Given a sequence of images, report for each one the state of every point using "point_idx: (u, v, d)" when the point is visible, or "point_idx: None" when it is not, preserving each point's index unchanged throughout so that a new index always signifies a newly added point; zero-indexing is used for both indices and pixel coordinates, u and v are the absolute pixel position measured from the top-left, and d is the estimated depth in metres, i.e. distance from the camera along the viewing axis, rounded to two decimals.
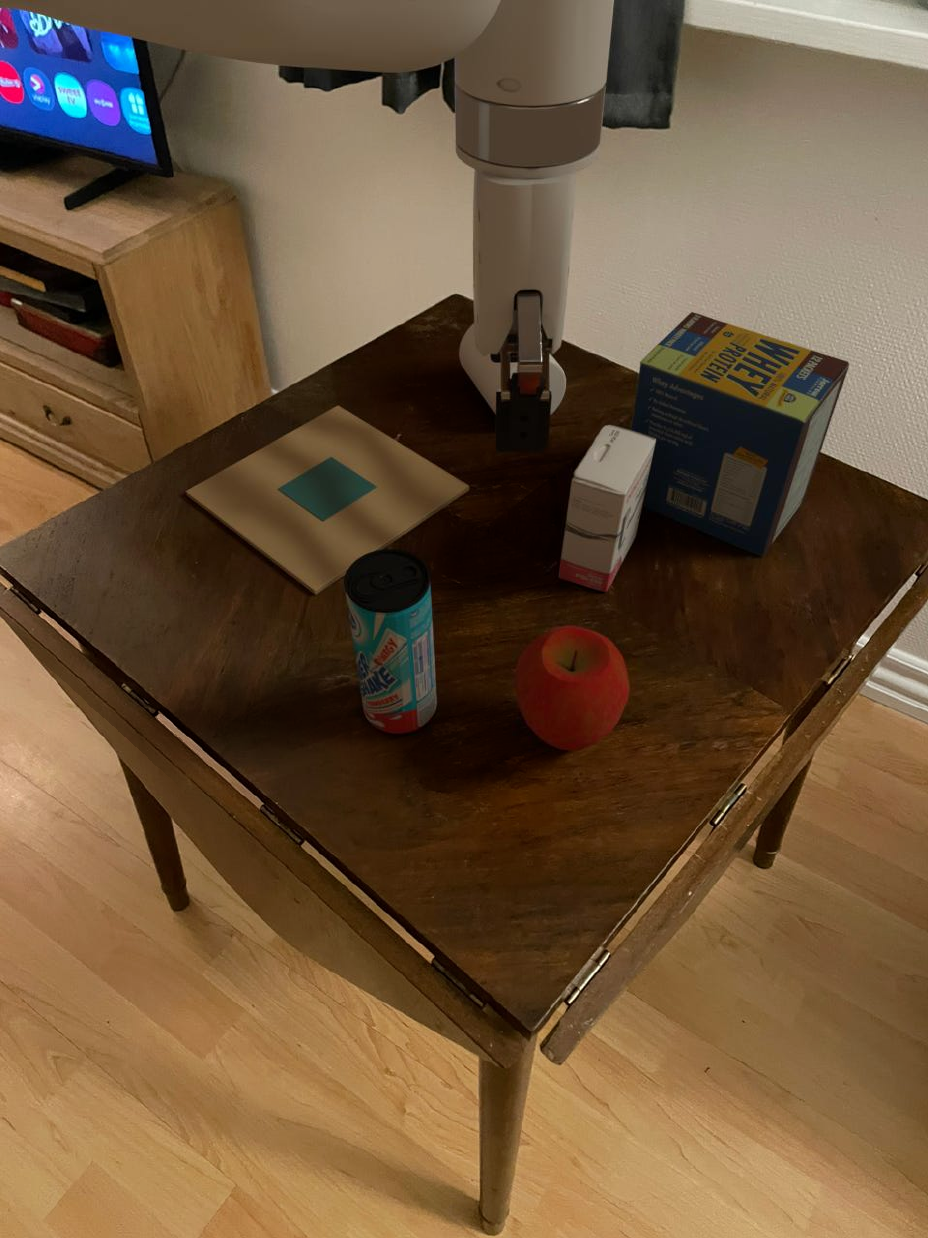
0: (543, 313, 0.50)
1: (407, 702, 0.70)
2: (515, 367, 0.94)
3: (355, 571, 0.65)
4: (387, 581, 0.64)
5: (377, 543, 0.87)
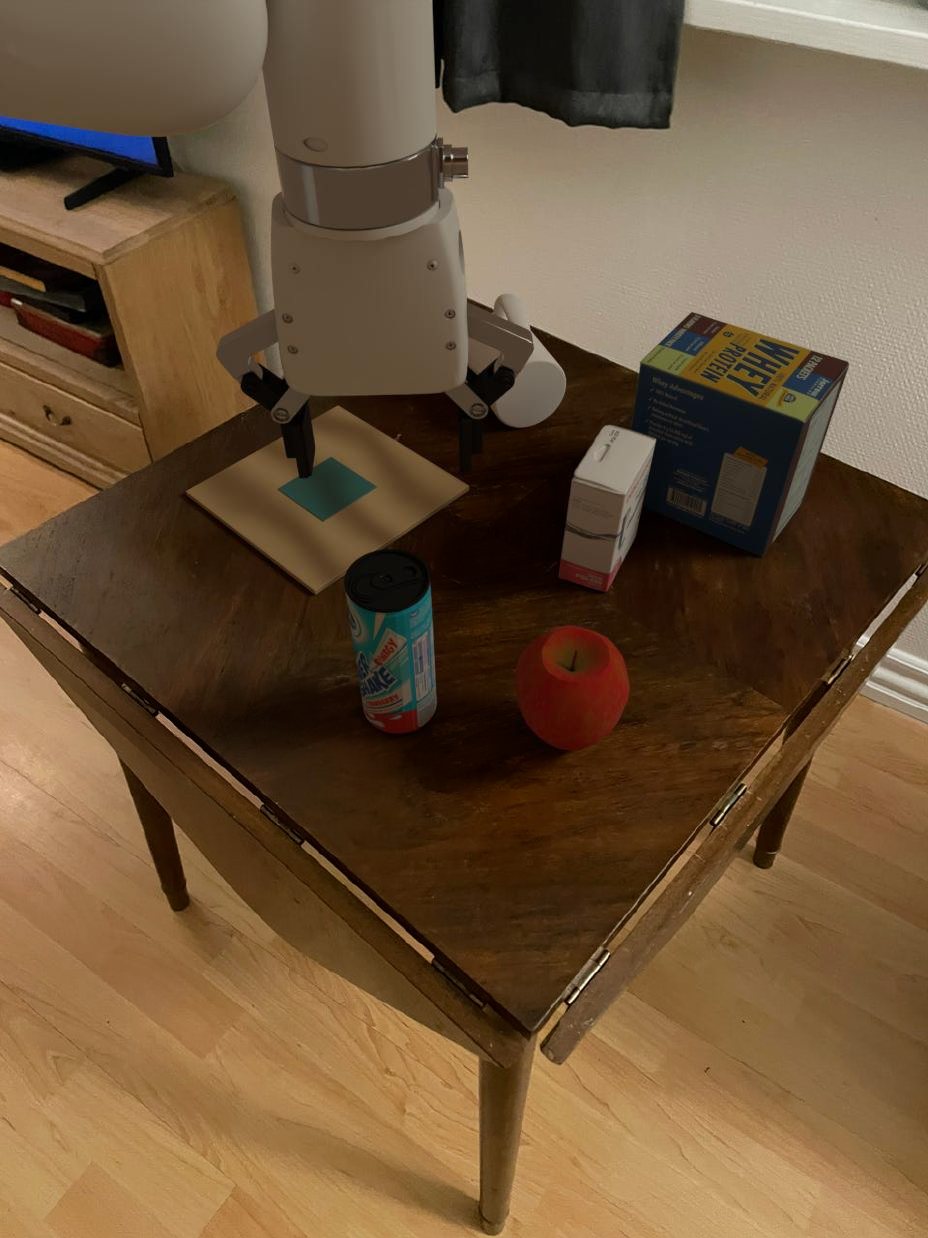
0: (278, 337, 0.50)
1: (407, 702, 0.70)
2: None
3: (355, 571, 0.65)
4: (387, 581, 0.64)
5: (377, 543, 0.87)
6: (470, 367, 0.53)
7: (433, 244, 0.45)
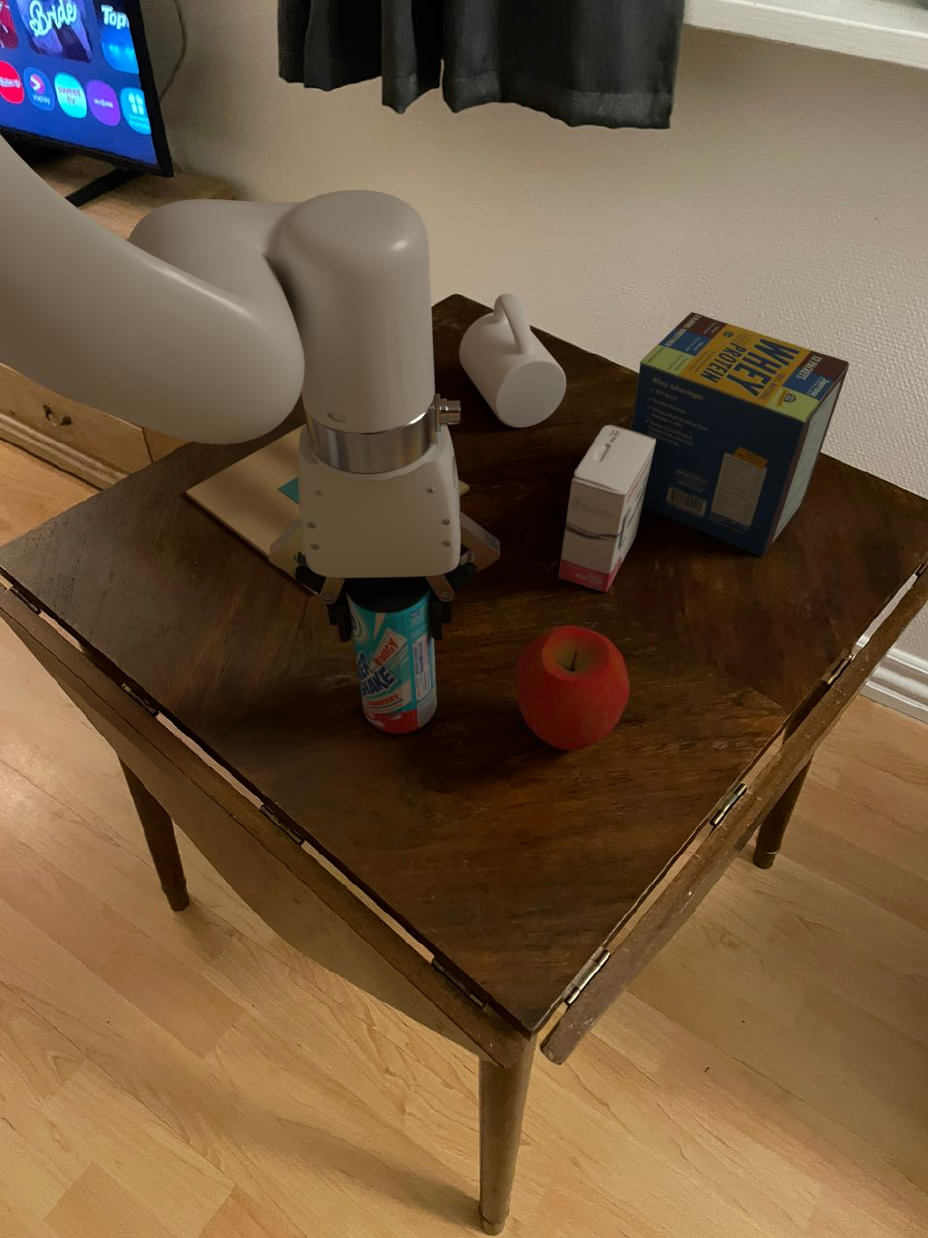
0: None
1: (407, 702, 0.70)
2: (515, 367, 0.94)
3: None
4: (387, 581, 0.64)
5: None
6: None
7: (431, 475, 0.55)
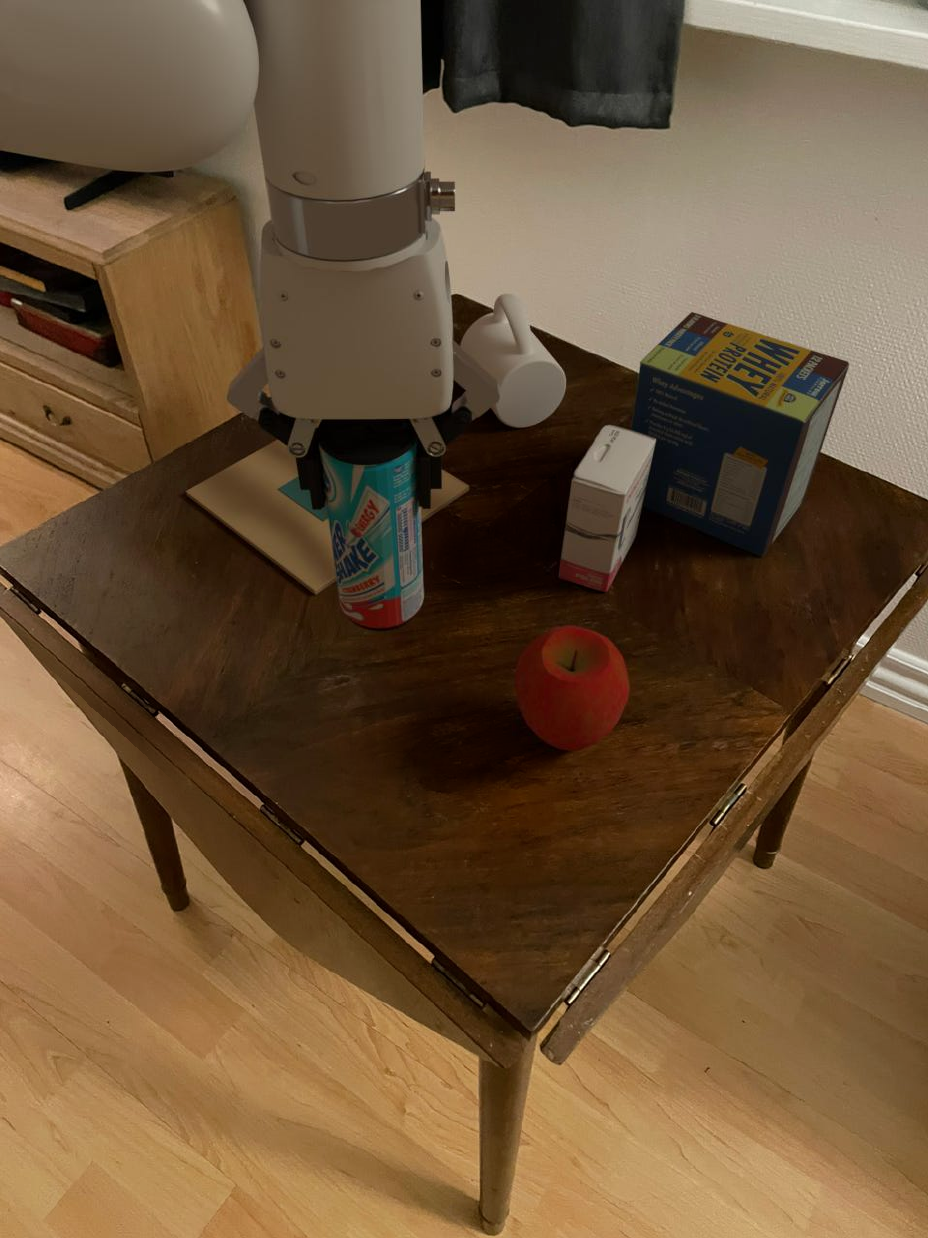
0: None
1: (389, 587, 0.60)
2: (515, 367, 0.94)
3: (330, 422, 0.55)
4: (367, 432, 0.55)
5: None
6: None
7: (419, 275, 0.45)
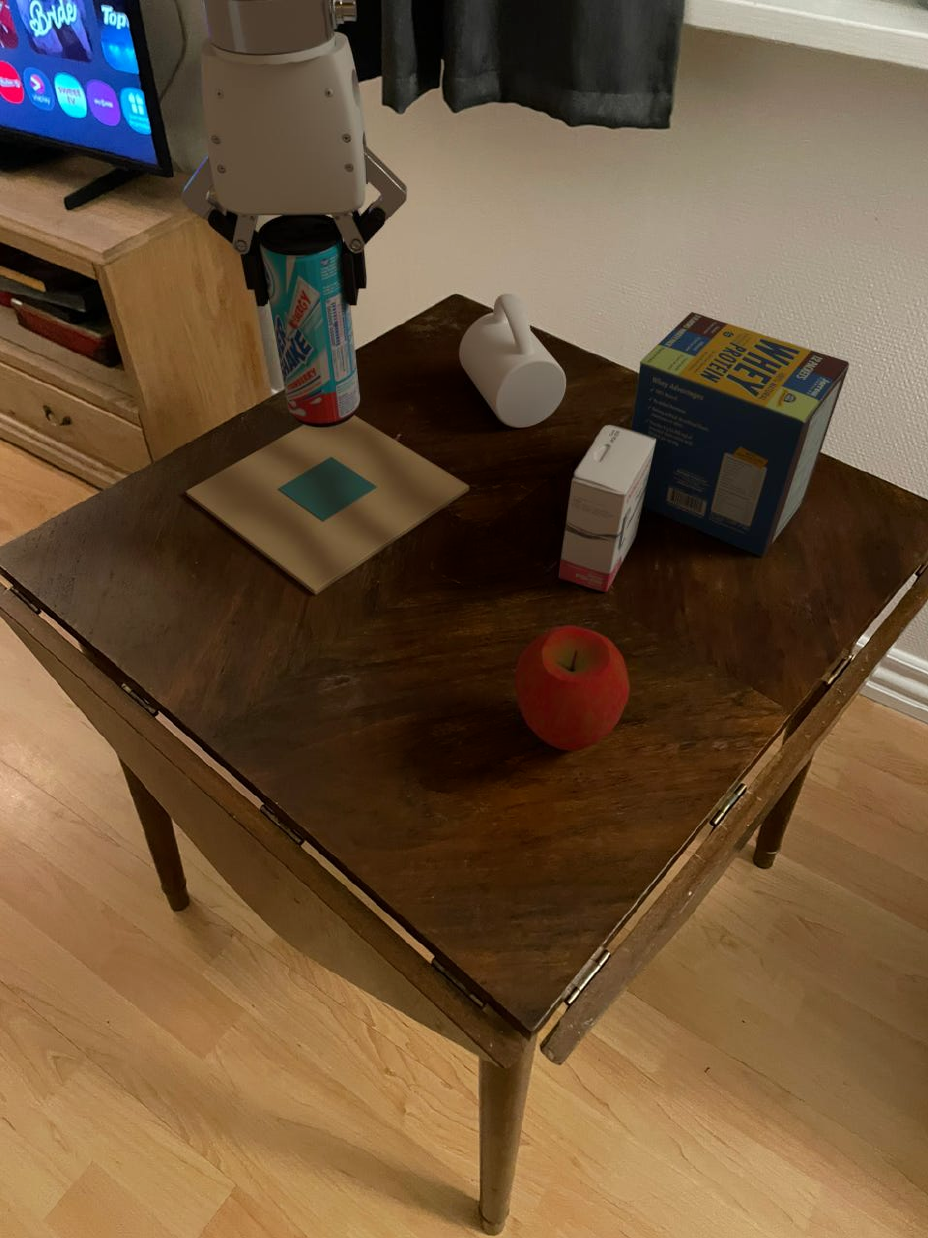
0: None
1: (325, 380, 0.71)
2: (515, 367, 0.94)
3: (270, 228, 0.66)
4: (300, 233, 0.65)
5: (377, 543, 0.87)
6: (358, 211, 0.65)
7: (328, 73, 0.56)
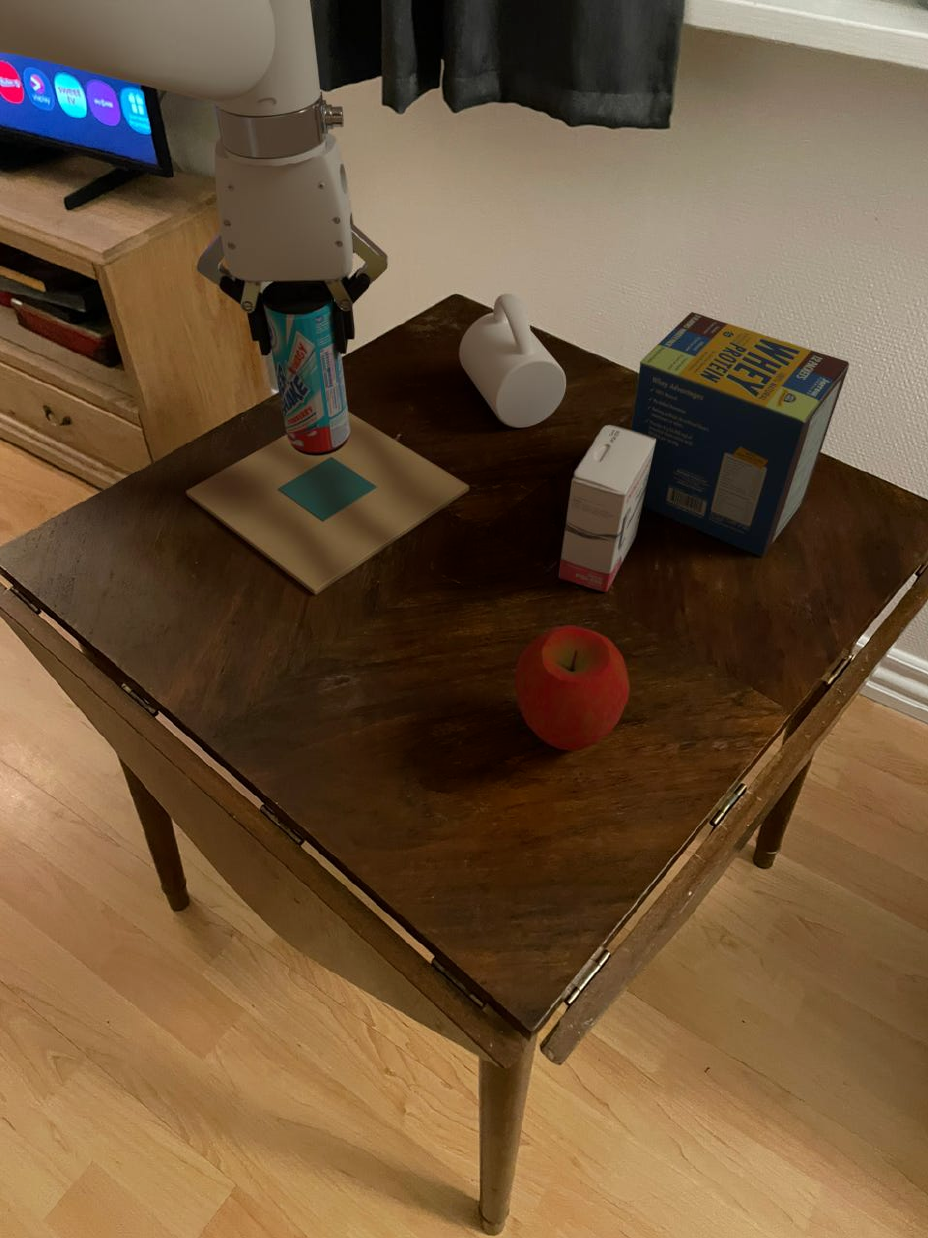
0: None
1: (320, 416, 0.83)
2: (515, 367, 0.94)
3: (272, 289, 0.78)
4: (297, 294, 0.77)
5: (377, 543, 0.87)
6: None
7: (320, 170, 0.68)
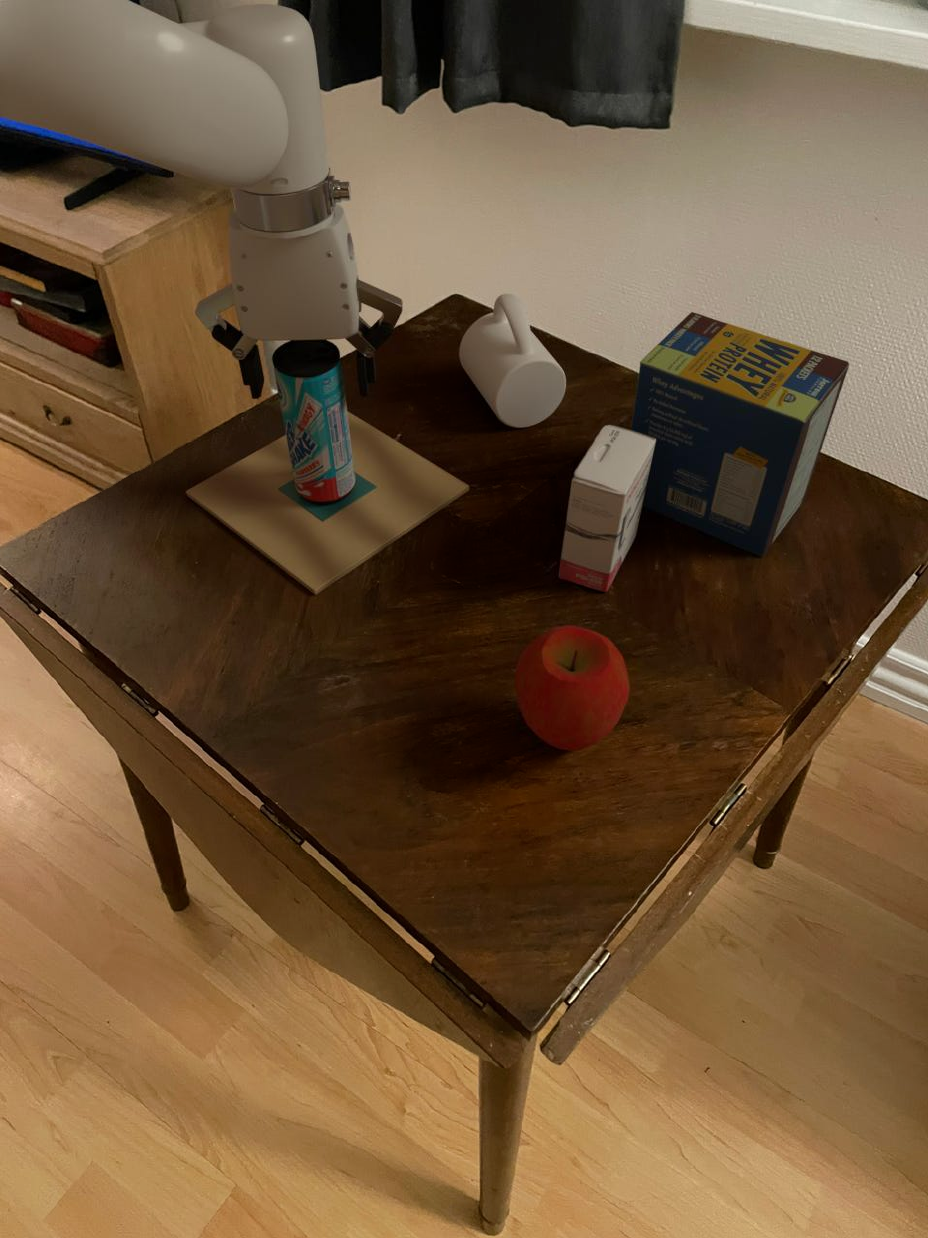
0: (235, 301, 0.77)
1: (327, 469, 0.87)
2: (515, 367, 0.94)
3: (281, 352, 0.82)
4: (306, 357, 0.81)
5: (377, 543, 0.87)
6: (364, 323, 0.80)
7: (329, 241, 0.72)
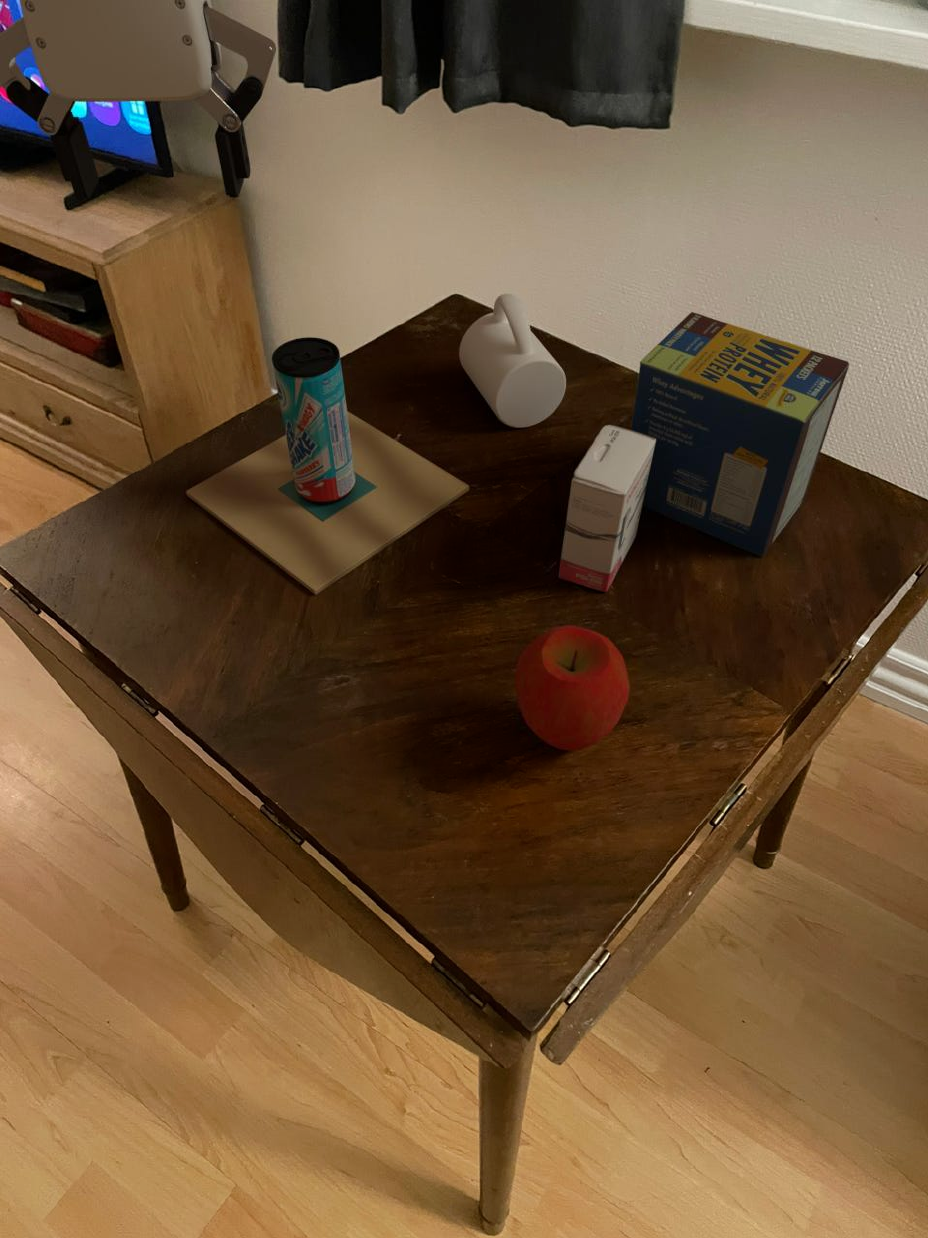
0: None
1: (327, 469, 0.87)
2: (515, 367, 0.94)
3: (281, 352, 0.82)
4: (305, 357, 0.81)
5: (377, 543, 0.87)
6: (226, 84, 0.57)
7: None
